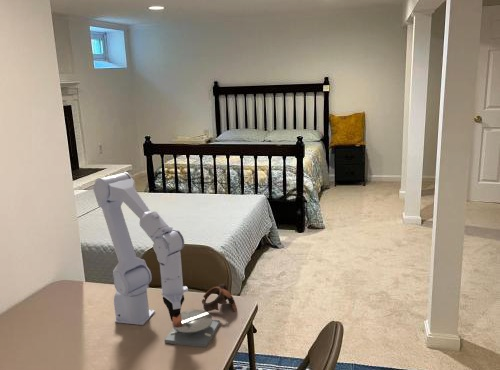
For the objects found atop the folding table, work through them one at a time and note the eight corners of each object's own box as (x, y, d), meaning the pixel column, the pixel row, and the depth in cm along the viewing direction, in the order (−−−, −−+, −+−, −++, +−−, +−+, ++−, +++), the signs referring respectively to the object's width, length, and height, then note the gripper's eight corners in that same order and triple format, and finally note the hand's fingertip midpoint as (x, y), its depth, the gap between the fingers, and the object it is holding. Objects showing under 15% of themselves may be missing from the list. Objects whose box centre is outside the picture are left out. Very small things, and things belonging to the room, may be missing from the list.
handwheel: (171, 341, 122) (169, 322, 120) (175, 320, 133) (173, 302, 131) (212, 338, 122) (210, 319, 121) (212, 317, 133) (211, 299, 132)
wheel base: (164, 342, 124) (164, 338, 123) (181, 319, 135) (181, 315, 135) (206, 347, 121) (206, 343, 120) (220, 323, 132) (219, 319, 132)
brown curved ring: (237, 318, 136) (223, 299, 132) (211, 329, 138) (196, 311, 135) (240, 290, 146) (226, 273, 143) (215, 301, 149) (201, 284, 145)
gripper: (190, 284, 117) (194, 331, 120) (182, 262, 130) (185, 305, 133) (163, 288, 115) (167, 336, 118) (157, 266, 128) (161, 309, 132)
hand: (175, 320), depth 126 cm, fingers closed, pressing on handwheel
